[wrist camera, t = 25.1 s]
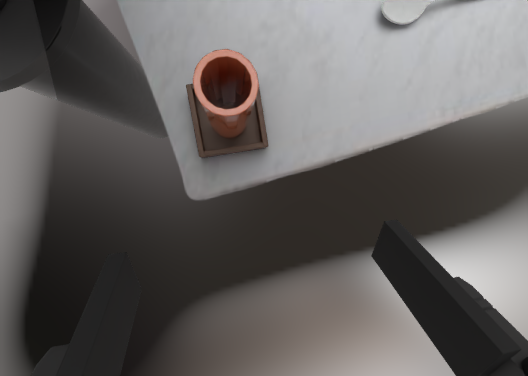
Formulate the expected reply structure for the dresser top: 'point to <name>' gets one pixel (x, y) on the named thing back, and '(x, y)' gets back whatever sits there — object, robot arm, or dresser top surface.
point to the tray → (217, 145)
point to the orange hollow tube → (226, 90)
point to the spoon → (404, 10)
